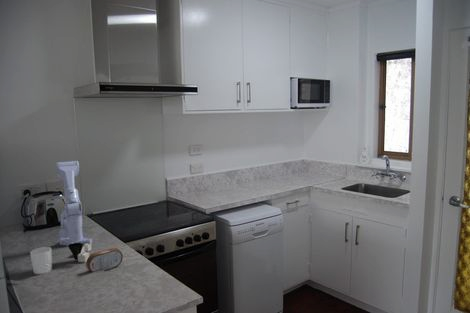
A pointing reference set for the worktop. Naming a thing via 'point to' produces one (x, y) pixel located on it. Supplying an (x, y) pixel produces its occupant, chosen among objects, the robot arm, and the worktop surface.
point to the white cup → (41, 260)
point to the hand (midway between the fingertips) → (77, 258)
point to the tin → (104, 259)
